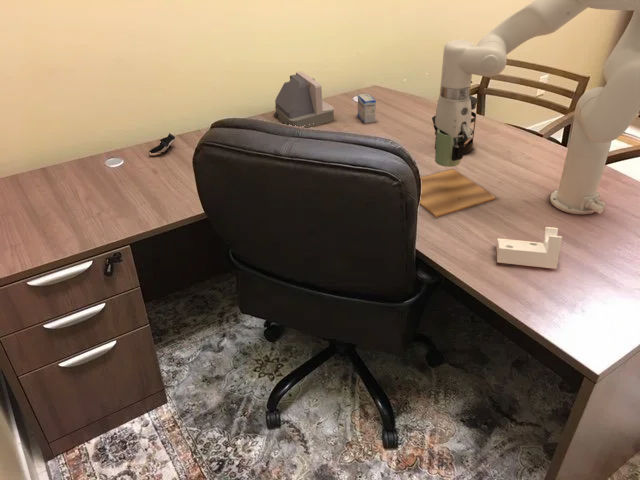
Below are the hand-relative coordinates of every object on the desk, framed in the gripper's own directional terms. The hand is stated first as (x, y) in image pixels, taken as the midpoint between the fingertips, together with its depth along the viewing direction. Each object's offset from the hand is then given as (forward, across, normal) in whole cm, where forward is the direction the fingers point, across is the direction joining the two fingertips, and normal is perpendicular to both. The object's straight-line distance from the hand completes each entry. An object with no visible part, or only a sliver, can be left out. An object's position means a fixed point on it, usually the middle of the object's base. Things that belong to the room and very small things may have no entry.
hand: (448, 153), depth 148 cm
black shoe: (+13, +72, +67) cm, 99 cm away
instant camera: (+13, +74, +13) cm, 76 cm away
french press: (+12, +22, -21) cm, 33 cm away
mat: (+12, 0, 0) cm, 12 cm away
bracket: (+12, -35, +2) cm, 37 cm away
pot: (+2, 0, 0) cm, 2 cm away
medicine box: (+13, +60, -7) cm, 62 cm away
